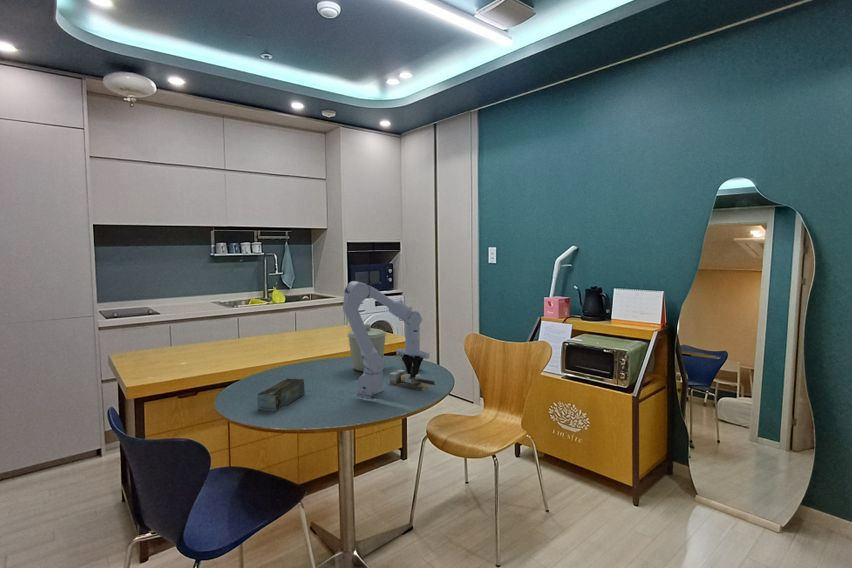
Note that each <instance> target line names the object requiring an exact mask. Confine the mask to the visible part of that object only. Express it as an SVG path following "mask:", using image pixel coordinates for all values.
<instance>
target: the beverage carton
mask: <svg viewBox="0 0 852 568" xmlns="http://www.w3.org/2000/svg"><path fill="white" fill-rule="evenodd" d="M305 393H306V392H305V380H304V379H303V378H302V379H301V378H285V379H284V380H282V381H280V382H277V384H275V385H273V386H271V387H269V388H267V389H265V390H263V391H261V392H259V393H257V395H256V396H257V406H258V407H257V408H258V410H259V409H264V410H263V411H267V410H273V411H272V412H278V411H280V410H281V409H283V408H285V407H286V406H287V404H288V403H289V404H291V403H292V401H293V402H295V400H297V399H299V398H300V396H301V397H302V396H304V395H306V394H305ZM290 402H291V403H290ZM289 404H288V405H289ZM285 405H286V406H285ZM284 406H285V407H284ZM282 407H283V408H282ZM280 408H281V409H280ZM277 410H278V411H277Z"/></svg>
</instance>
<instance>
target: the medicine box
mask: <svg viewBox="0 0 852 568" xmlns="http://www.w3.org/2000/svg"><path fill="white" fill-rule="evenodd" d="M403 356H404V355H401V358H402V357H403ZM413 358H414V356H413ZM412 366H413V362H412ZM401 370H406V371H407V369H406V366H405V364H404V362H403V360H402V359H401ZM420 370H422V364H421V365H420V368H419V371H420Z"/></svg>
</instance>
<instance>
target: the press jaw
mask: <svg viewBox="0 0 852 568" xmlns="http://www.w3.org/2000/svg"><path fill="white" fill-rule="evenodd" d="M409 375H410V376H408V377H406V378H405V384H409V385H415V384H418V383H420V382H421V379H422V374H419V373H418V374H417V375H414V372H413V366H410V374H409Z"/></svg>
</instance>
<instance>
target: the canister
mask: <svg viewBox="0 0 852 568" xmlns="http://www.w3.org/2000/svg"><path fill="white" fill-rule="evenodd" d="M364 325H365V328H366V330H367V332H368V335H369V337H370V339H371V342H372V344H373V346H374V348H375V349H376V351H377V352H378V354H379V356H380V357H381V358H382V359H383V360H384V354H385V345H386V344H385V343H386V336H387V334H388V333H387V332H386V331H384V330H382V329H379V328H373V327H372V326H371V324H369V323H364ZM346 336H347V337H348V342H349V347H350V348H349V349H350V356H351V362H352V366H353V368H354V369H355V371H358V372H364V368H365V366H364V365H363V364H362V356H361V350H360V347H359V345H358V343H357V340H356V338H355V336H354V333H353V331H352V330H351V331H350V332H348V333H347V335H346Z"/></svg>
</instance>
